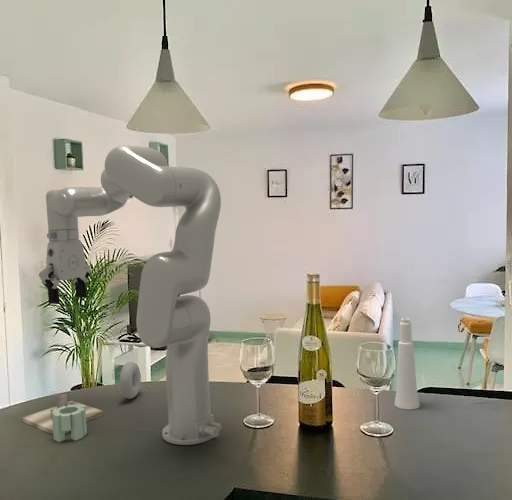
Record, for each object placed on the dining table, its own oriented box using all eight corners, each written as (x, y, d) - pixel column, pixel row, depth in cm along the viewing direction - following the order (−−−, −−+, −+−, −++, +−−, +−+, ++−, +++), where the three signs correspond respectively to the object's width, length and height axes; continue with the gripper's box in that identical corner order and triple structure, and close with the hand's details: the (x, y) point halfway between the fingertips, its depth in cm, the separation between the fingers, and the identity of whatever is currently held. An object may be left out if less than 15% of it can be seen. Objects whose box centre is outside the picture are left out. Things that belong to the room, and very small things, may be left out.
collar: (88, 428, 127) (87, 403, 126) (82, 440, 120) (81, 414, 120) (58, 430, 126) (56, 406, 126) (50, 443, 119) (48, 417, 119)
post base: (103, 414, 135) (102, 391, 134) (52, 434, 124) (51, 409, 124) (71, 404, 144) (70, 382, 143) (22, 421, 133) (20, 398, 132)
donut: (131, 391, 152) (129, 357, 151) (143, 391, 152) (141, 357, 151) (118, 404, 142) (116, 367, 141) (130, 404, 142) (128, 367, 141)
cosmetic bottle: (424, 405, 133) (422, 318, 131) (411, 411, 129) (409, 322, 127) (403, 399, 137) (401, 315, 136) (389, 405, 133) (387, 319, 132)
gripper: (49, 238, 132) (53, 306, 133) (97, 234, 147) (101, 295, 149) (27, 238, 135) (31, 305, 136) (76, 234, 151) (80, 294, 152)
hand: (68, 300), depth 142 cm, fingers open, 9 cm apart
